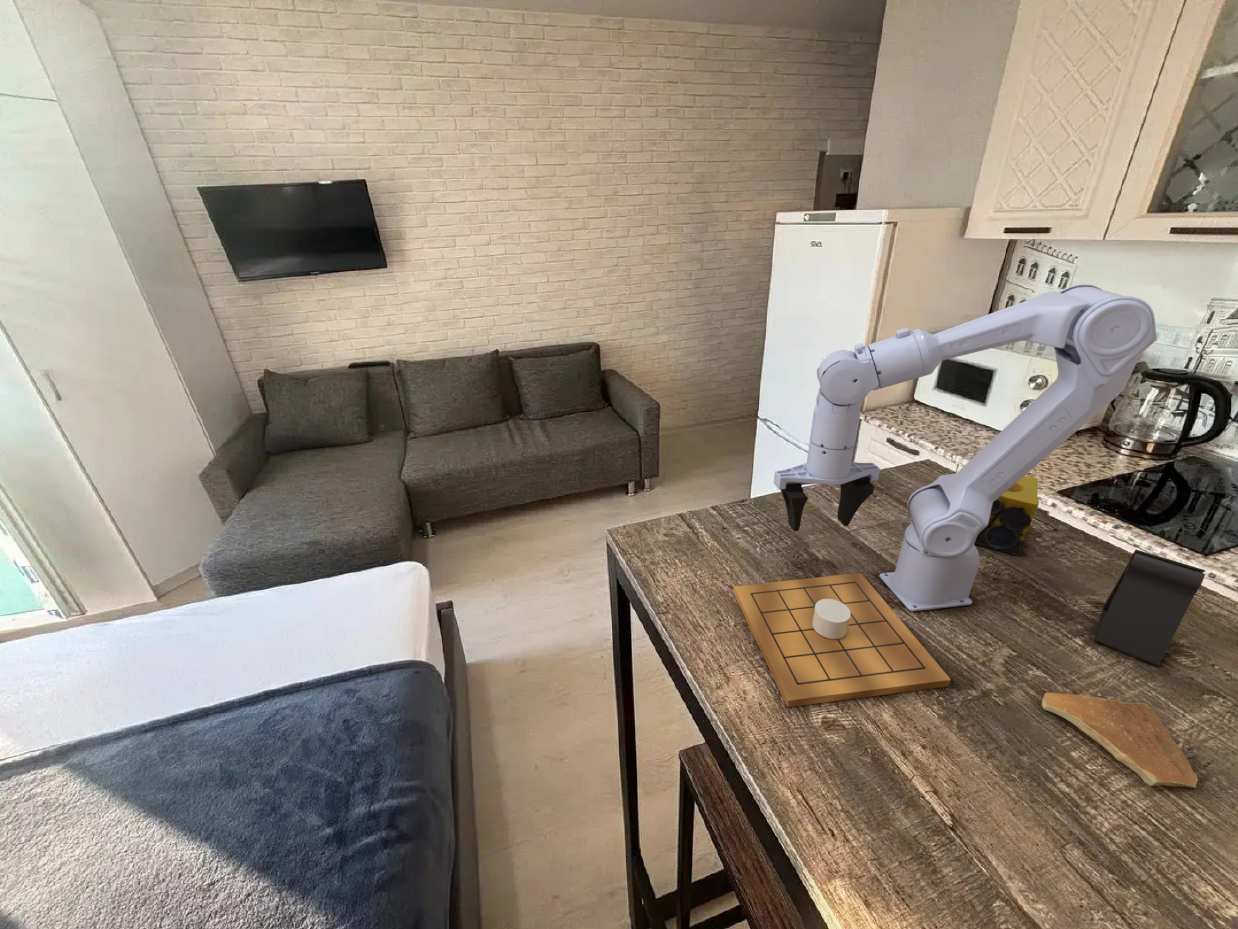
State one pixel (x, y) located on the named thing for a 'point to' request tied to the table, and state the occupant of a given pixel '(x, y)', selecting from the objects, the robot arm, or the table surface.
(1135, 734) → the pottery shard
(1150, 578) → the phone stand
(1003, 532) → the yellow cube with hollow
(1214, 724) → the table surface
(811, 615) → the game board
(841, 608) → the white stone
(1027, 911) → the table surface
